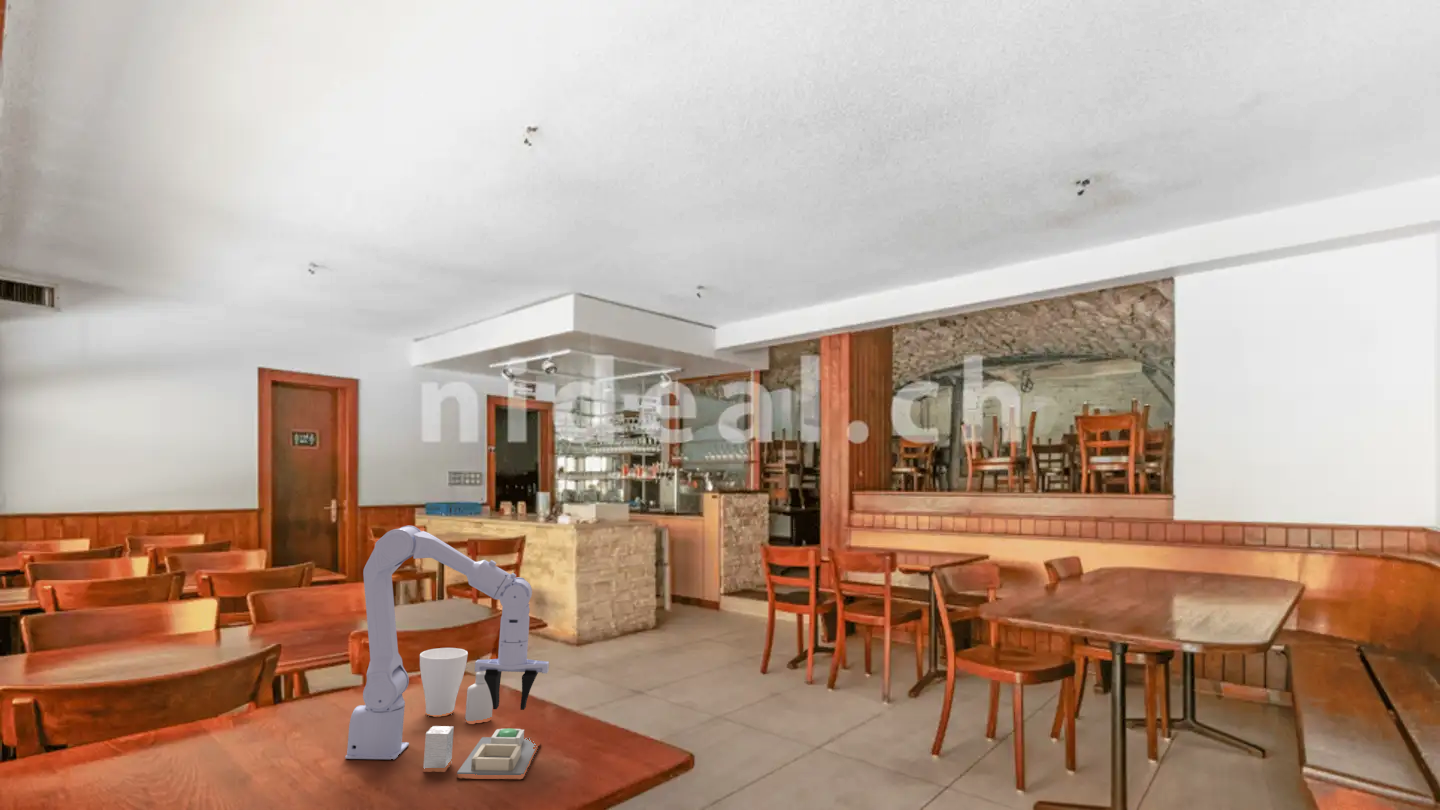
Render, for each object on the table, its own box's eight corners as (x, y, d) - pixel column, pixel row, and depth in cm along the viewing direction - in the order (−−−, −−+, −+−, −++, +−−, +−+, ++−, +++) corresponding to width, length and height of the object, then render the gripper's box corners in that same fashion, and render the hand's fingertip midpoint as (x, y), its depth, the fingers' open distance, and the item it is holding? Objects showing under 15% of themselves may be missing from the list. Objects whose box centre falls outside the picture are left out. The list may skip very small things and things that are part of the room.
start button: (497, 746, 149) (498, 733, 150) (501, 740, 153) (501, 728, 153) (513, 746, 150) (514, 734, 150) (516, 740, 153) (517, 728, 153)
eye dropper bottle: (468, 718, 169) (471, 663, 170) (493, 718, 170) (496, 664, 171) (463, 724, 165) (466, 669, 166) (488, 725, 165) (492, 669, 166)
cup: (405, 715, 170) (409, 654, 171) (441, 703, 179) (445, 645, 180) (437, 724, 165) (442, 661, 166) (473, 711, 174) (477, 652, 175)
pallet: (456, 779, 137) (458, 759, 137) (481, 743, 155) (482, 726, 155) (523, 780, 137) (524, 761, 138) (540, 744, 155) (541, 727, 156)
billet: (423, 772, 139) (425, 733, 140) (430, 763, 143) (432, 726, 144) (444, 772, 140) (447, 733, 140) (451, 764, 144) (453, 726, 144)
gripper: (552, 636, 157) (548, 702, 156) (482, 634, 156) (478, 701, 155) (547, 644, 150) (543, 713, 149) (473, 642, 149) (469, 712, 148)
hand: (509, 708), depth 152 cm, fingers open, 5 cm apart
